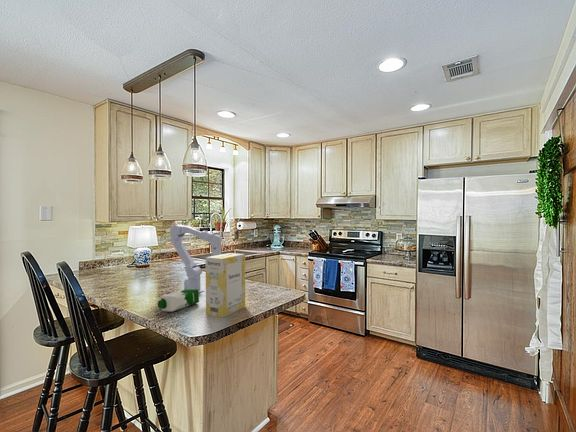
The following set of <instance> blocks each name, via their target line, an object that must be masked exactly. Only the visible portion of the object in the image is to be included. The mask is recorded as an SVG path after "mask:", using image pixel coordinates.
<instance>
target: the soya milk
mask: <svg viewBox="0 0 576 432" xmlns="http://www.w3.org/2000/svg"><path fill="white" fill-rule="evenodd" d="M199 294H200V293H198V289H188V290H184V289H182V290H178V291H174V292H170V293H167V294H163V295H161V296H160V300H158V302H157V307H158V308H159V309H161V311H162V312H176V311H179V310H181V309H184V308H187V307H190V306H193V305H196V304H198V303H200V298H199V297H200V295H199Z"/></svg>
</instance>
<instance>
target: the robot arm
mask: <svg viewBox="0 0 576 432" xmlns="http://www.w3.org/2000/svg"><path fill="white" fill-rule="evenodd" d="M169 234H170V240H171V244H172V246H173V248H174V249H175V250H176V253H177V254H178V256H179V257H180V259H181V261H182V263H183V265H184V266H185V268H184V270H185V272H186V276H187V277H186V278H185V279H184V282H183V290H188V289H198V294H200V293H203V292H204V290H202V289H201V276H202V275H201V274H202V273H203V269H202V268H201V267H200V266H199V264H198V263H196V262H195V261H194V260H193V259H192V257H191V255H190V253H189V252H188V250H187V248H186V246H185V245H184V243H183V242H182V240H183V237H184V236H185V235H186V234H190V235H193V236H196V237H199V239H200V240H202V241H205V242H206V243H210V245H211V256H216V255H221V254H222V242H223V238H222V236H221V235H220V234H216V233H212V232H209V231H208V230H202V231H200V230H198V229H195V228H193V227H191V226H188V225H184V224H180V225H179V224H178V225H177V224H174V225H172V226H171V228H170V230H169Z"/></svg>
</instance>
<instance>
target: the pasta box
mask: <svg viewBox="0 0 576 432" xmlns="http://www.w3.org/2000/svg"><path fill="white" fill-rule="evenodd" d="M244 308H246V254H245V253H237V252H235V253H233V252H227V253H221V255H216V256H212V255H211V256H205V314H206V315H208V316H213V317H218V318H225V317H227V316H229V315H231V314H234V313H236V312H238V311H239V310H241V309H244Z"/></svg>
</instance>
